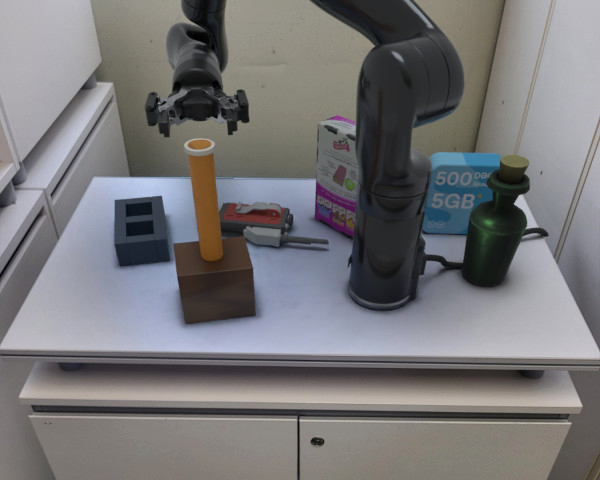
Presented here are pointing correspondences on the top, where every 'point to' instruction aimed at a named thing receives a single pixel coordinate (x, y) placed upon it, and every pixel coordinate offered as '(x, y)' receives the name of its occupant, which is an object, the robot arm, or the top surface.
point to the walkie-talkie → (260, 223)
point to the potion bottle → (497, 224)
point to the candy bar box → (336, 174)
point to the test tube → (205, 197)
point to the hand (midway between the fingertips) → (198, 129)
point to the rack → (140, 231)
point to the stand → (215, 282)
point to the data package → (457, 189)
